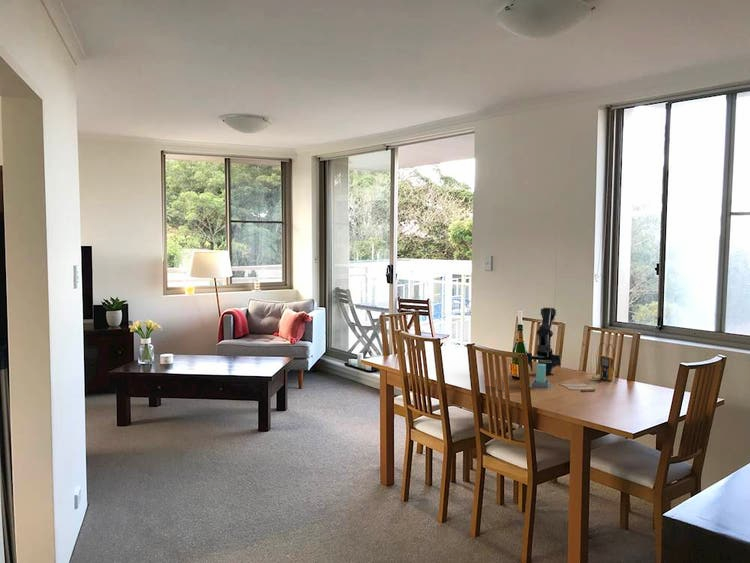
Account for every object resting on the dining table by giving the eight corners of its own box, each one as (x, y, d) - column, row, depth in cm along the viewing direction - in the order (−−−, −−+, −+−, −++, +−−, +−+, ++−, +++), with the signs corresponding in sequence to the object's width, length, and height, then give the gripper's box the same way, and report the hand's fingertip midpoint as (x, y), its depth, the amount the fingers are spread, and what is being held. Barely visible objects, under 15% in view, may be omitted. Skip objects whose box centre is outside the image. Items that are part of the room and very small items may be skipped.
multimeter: (584, 377, 329) (585, 342, 327) (598, 376, 333) (599, 341, 331) (604, 383, 315) (605, 346, 314) (618, 382, 319) (619, 345, 318)
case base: (531, 383, 316) (531, 377, 315) (552, 385, 312) (552, 379, 311) (528, 389, 302) (528, 383, 302) (550, 391, 299) (550, 385, 298)
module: (536, 383, 310) (537, 363, 309) (545, 384, 309) (545, 364, 308) (535, 386, 305) (536, 365, 305) (544, 386, 304) (545, 365, 303)
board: (559, 386, 310) (559, 383, 310) (582, 385, 312) (582, 382, 312) (571, 392, 297) (571, 389, 297) (595, 391, 299) (595, 388, 299)
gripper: (524, 337, 314) (521, 361, 304) (561, 339, 307) (559, 364, 298) (526, 349, 322) (523, 373, 312) (561, 352, 315) (559, 376, 305)
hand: (540, 372), depth 307 cm, fingers open, 9 cm apart
